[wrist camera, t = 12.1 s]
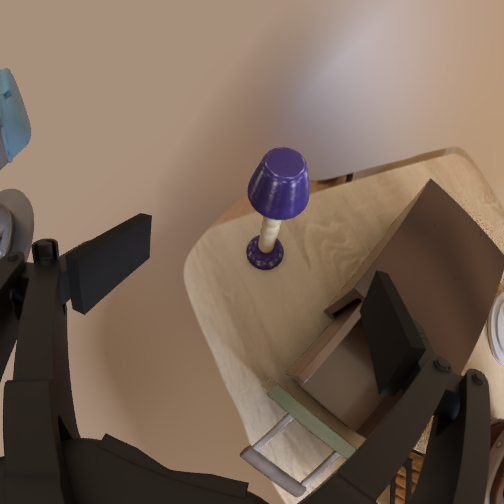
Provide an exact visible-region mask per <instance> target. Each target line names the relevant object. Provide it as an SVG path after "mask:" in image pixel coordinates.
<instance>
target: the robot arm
mask: <svg viewBox="0 0 504 504" xmlns="http://www.w3.org/2000/svg"><path fill="white" fill-rule="evenodd" d="M30 137H31V127H30V122H29V119H28V115H27V112H26V109H25V106H24V103H23V100H22V97H21V95H20V92H19V89H18V87H17V84H16V81H15V79H14V77H13V75H12V74H11V72H10V70H9V69H8V68H5V69H3V70H0V170H1V169H2V168H3V167H4V166H5V165H6V164H7V163H8V162H9V163H10V162H12V160H13V158H14V157H15V156H16V155H17V154H18V153H19V152H20V151H21V150H22V149H23V148H24V147H26V146H27V144H28V143H29V140H30ZM151 219H152V216H151V215H147V214H142V213H140V214H138V215H136V216H134V217H133V218H131V219H129V220H127V221H125V222H123V223H121V224H119V225H117V226H116V227H114V228H112V229H110V230H109V231H106V232H105V233H103V234H101V235H99V236H97V237H96V238H94V239H92V240H90V241H86V242H84V243H82V244H80V245H78V247H75V248H73V250H70V251H68V252H66V253H65V254H63V255H61V256H60V257H59V250H58V243H57V241H56V240H54V239H41V240H38V241H36V242H34V243H33V244H32V245H31V246H32V254H33V260H34V263H29V262H26V261H25V255H24V253H23V252H21V251H11V247H12V244H13V239H14V230H15V224H14V218H13V215H12V213H11V211H10V210H9V209H8V208H7V207H5V206H4V205H3V204H1V203H0V382H1V379H2V376H3V373H4V370H5V367H6V365H7V362H8V360H9V357H10V355H11V352H12V350H13V347H14V345H15V343H16V340H17V344H16V352H15V362H14V373H13V380H8V381H7V382H5V386H4V398H3V441H4V456H3V457H0V504H269V503H268V502H266V501H265V500H263V499H262V498H261V497H259V496H257V495H255V494H253V493H251V492H249V491H247V488H248V484H249V483H247V482H242V481H237V480H233V479H229V478H224V477H220V476H217V475H213V474H203V473H190V472H181V471H173V470H170V469H167V468H166V467H164V466H163V465H161V464H160V463H158V462H156V461H155V460H154V459H152V458H151V457H149V456H148V455H146V454H145V453H143V452H142V451H141V450H139V449H138V448H136V447H134V446H131V445H129V444H127V443H125V442H122V441H120V440H118V439H116V438H114V437H112V436H110V435H108V434H105V435H104V437H103V439H102V440H97V439H89V438H88V439H87V438H81V437H80V435H79V432H78V428H77V424H76V418H75V412H74V405H73V398H72V391H71V382H70V371H69V359H68V341H67V306H66V302H67V301H68V300H70V299H71V302H72V308H73V310H76V311H78V312H80V313H82V314H84V315H85V314H86V313H87V312H88V311H89V310H90V309H92V308H93V307H94V306H95V305H96V304H97V303H98V302H99V301H100V300H101V299H103V298H104V297H105V296H106V295H107V294H108V293H109V292H110V291H111V290H113V289H114V288H115V287H116V286H117V285H118V284H120V283H121V282H122V281H123V280H124V279H125V278H126V277H127V276H129V275H130V274H131V273H132V272H133V271H135V270H136V269H137V268H138V267H139V266H140V265H142V264H143V263H144V262H145V261H146V260H148V259H149V256H150V235H151ZM360 315H361V319H362V323H363V326H364V330H365V334H366V338H367V343H368V347H369V351H370V355H371V360H372V364H373V369H374V373H375V378H376V383H377V388H378V393H379V395H381V396H392V397H394V396H395V395H396V393H397V392H398V391H399V389H400V388H401V389H402V393H403V395H402V396H401V397H400V399H399V400H398V401H397V402H396V404H395V405H394V406H393V407H392V409H391V410H390V412H389V413H388V414H387V415H386V417H385V418H384V419H383V420H382V421H381V423H380V424H379V425H378V426H377V427H376V429H375V430H374V431H373V432H372V433H371V434H370V435H369V437H368V438H367V439H366V440H365V441H364V442H363V443H362V444H361V445H360V446H359V448H358V449H357V450H356V451H355V452H354V453H353V454H352V455H351V456H350V457H349V458H348V459H347V460H346V461H345V462H344V463H343V464H342V465H341V466H340V467H339V468H338V469H337V470H336V471H335V472H334V473H333V474H331V475H330V476H329V477H328V478H327V479H326V480H325V481H324V482H323V483H322V484H320V485H319V486H318V487H317V488H316V489H315V490H314V491H312V492H311V493H310V494H309V495H308V496H306V497H305V498H304V499H303V500H301V501H300V502H299V503H298V504H378V503H377V502H376V500H377V499H378V497H379V496H380V495H381V493H382V492H383V491H384V490H385V488H386V487H387V486H388V484H389V483H390V482H391V480H392V479H393V478H394V476H395V475H396V474H397V472H398V471H399V469H400V468H401V466H402V465H403V464H404V462H405V461H406V459H407V458H408V456H409V455H410V453H411V451H412V450H413V448H414V447H415V445H416V443H417V442H418V440H419V439H420V437H421V435H422V433H423V432H424V430H425V428H426V426H427V425H428V423H429V421H430V419H431V417H432V415H433V416H434V417H433V423H432V428H431V432H430V437H429V441H428V445H427V449H426V453H425V457H424V461H423V464H422V468H421V471H420V475H419V478H418V481H417V484H416V487H415V490H414V493H413V496H412V498H411V501H410V504H484V501H485V495H486V488H487V480H488V471H489V458H490V398H489V385H488V381H487V379H486V377H485V375H484V374H482V372H481V371H478V370H476V369H469V370H468V371H467V372H466V374H465V375H464V376H461V375H458V374H456V373H453V368H452V365H451V364H450V363H449V361H447V360H446V359H445V358H443V357H441V356H438V355H436V354H435V351H434V349H433V347H432V345H431V343H430V341H429V340H428V337H427V335H426V333H425V331H424V329H423V327H422V326H421V325H420V324H419V323H418V322H417V321H416V320H413V319H412V318H411V316H410V314H409V312H408V310H407V308H406V306H405V304H404V302H403V300H402V298H401V296H400V294H399V293H398V291H397V289H396V287H395V285H394V283H393V281H392V280H391V278H390V276H389V274H388V273H385V272H381V271H377V270H376V272H375V275H374V277H373V280H372V282H371V285H370V287H369V290H368V292H367V294H366V297H365V299H364V302H363V304H362V306H361V308H360Z"/></svg>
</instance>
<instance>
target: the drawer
mask: <svg viewBox="0 0 504 504" xmlns="http://www.w3.org/2000/svg"><path fill="white" fill-rule="evenodd" d="M362 304H363V302H362V301H361V300H360V299H359V298H356V299H355V300H353V301H352V302H350V303H349V304H347V305H346V306H345V307H344V308H343V309H342V311H341V312H340V313H339V314H338V315H337V317H336V318H335V319H334V320H333V321H332V323H331V324H330V325H329V326H328V327H327V328H326V330H325V331H324V332H323V333H322V334H321V335H320V336H319V338H318V339H317V340H316V341H315V342H314V343H313V344H312V345H311V347H310V348H309V349H308V350H307V351H306V352H305V353H304V354H303V355H302V356H301V357H300V359H299V360H298V361H297V362H296V363H295V364H294V365H293V366H292V367H291V368H290V369H289V370H288V371H287V372H286V375H287V376H289V377H290V378H291V379H292V380H293V381H294V382H295V383H296V384H298V385H299V386H300V387H301V388H302V389H303V390H304V391H306V392H307V393H308V394H309V395H310V396H311V397H313V398H314V399H315V400H316V401H317V402H318V403H320V404H321V405H322V406H323V407H324V408H325V409H327V410H328V411H329V412H330V413H331V414H333V415H334V416H335V417H336V418H337V419H339V420H340V421H341V422H342V423H344V424H345V425H346V426H347V427H349V428H350V429H351V430H352V431H354V432H355V433H356V434H357V435H359V436H361V437H363V438H364V439H367V438H368V437H369V435H370V434H371V433H372V432H373V431H374V430H375V429H376V427H377V426H378V425H379V424H380V423H381V421H382V420H383V419H384V418H385V417H386V415H387V414H388V413H389V412H390V410H391V409H392V407H393V406H394V405H395V404H396V402H397V401H398V400H399V399H400V397H401V396H402V395H403V393H402V389H401V388H400V389H399V391H398V392H397V393H396V395H395V396H394V397H392V396H381V395H379V393H378V388H377V383H376V378H375V373H374V369H373V364H372V360H371V355H370V351H369V347H368V343H367V338H366V334H365V330H364V326H363V323H362V319H361V315H360V308H361V306H362ZM262 387H263V389H264V391H265V392H266V394H267V395H268V396H269V397H270V398H271V399H272V400H274V401H275V402H276V403H277V404H278V405H279V406H280V407H282V408H283V409H284V410H285V411H286V412H287V414H286V415H285V416H284V417H283V418H282V419H281V420H280V421H279V422H278V423H277V424H276V425H275V426H274V427H273V428H272V429H271V430H270V431H269V432H267V433H266V434H265V435H264V436H263V437H262V438H261V439H260V440H259V441H258V442H256V443H255V444H254V445H253V447H252V446H248V447H246V448H245V449H244V450H243V451H242V452H241V453H240V457H242V458H243V459H244V460H245V461H247V462H248V463H249V464H250V465H252V466H253V467H254V468H255V469H257V470H258V471H260V472H261V473H262V474H264V475H265V476H266V477H267V478H269V479H270V480H271V481H273V482H274V483H276V484H277V485H278V486H280V487H281V488H283V489H284V490H286V491H287V492H289V493H290V494H292V495H293V496H295V497H300V496H301V495H303V494H304V492H305V491H306V487H307V486H308V485H309V484H310V483H311V482H312V481H313V480H315V479H316V478H317V477H318V476H319V475H320V474H321V473H322V472H323V471H324V470H325V469H326V468H328V467H329V466H330V465H331V464H332V463H333V462H334V461H335V460H336V459H337V458H338V457H339V456H340V455H341V456H343V457H344V458H346V459H348V458H349V457H350V456H351V455H352V454H353V453H354V452H355V451H356V450H357V449H356V448H355V447H354V446H353V445H351V444H350V443H349V442H347V441H346V440H345V439H343V438H342V437H341V436H340V435H338V434H337V433H336V432H335V431H333V430H332V429H331V428H330V427H328V426H327V425H326V424H325V423H323V422H322V421H321V420H320V419H319V418H317V417H316V416H315V415H314V414H313V413H311V412H310V411H309V410H308V409H307V408H305V407H304V406H303V405H302V404H301V403H300V402H298V401H297V400H296V399H295V398H294V397H293V396H291V395H290V394H289V393H288V392H287V391H286V390H285V389H283V388H282V387H281V386H280V385H279V384H278V383H276V382H275V381H273V380H272V379H270V378H269V379H268V380H267V381H266V382H265V383H264V384H263V385H262ZM293 418H294V419H296V420H297V421H298V422H299V423H301V424H302V425H303V426H304V427H305V428H307V429H308V430H309V431H310V432H312V433H313V434H314V435H315V436H317V437H318V438H319V439H320V440H322V441H323V442H324V443H326V444H327V445H328V446H329V447H331V448H332V449H333V450H334V451H333V452H332V453H331V454H330V455H329V456H328V457H327V458H326V459H325V460H324V461H323V462H322V463H321V464H320V465H319V466H318V467H317V468H316V469H315V470H314V471H313V472H311V473H310V474H309V475H308V476H307V477H306V478H305V479H304V480H302V481H301V483H300V482H298V481H297V480H295V479H294V478H292V477H291V476H290V475H288V474H287V473H286V472H284V471H283V470H281V469H280V468H279V467H277V466H276V465H275V464H273V463H272V462H271V461H270V460H268V459H267V458H266V457H264V456H263V455H262V454H261V453H259V452H258V451H259V450H260V449H261V448H262V447H263V446H265V445H266V444H267V443H268V442H269V441H270V440H271V439H272V438H273V437H274V436H276V435H277V434H278V433H279V432H280V431H281V430H282V429H283V428H284V427H285V426H286V425H287V424H288V423H289V422H290V421H291V420H292V419H293Z"/></svg>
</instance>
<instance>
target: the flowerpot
mask: <svg viewBox="0 0 504 504" xmlns="http://www.w3.org/2000/svg"><path fill="white" fill-rule="evenodd" d="M484 504H504V419H497V418H494V419H493V420H490V458H489V471H488V480H487V488H486V495H485V501H484Z"/></svg>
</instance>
